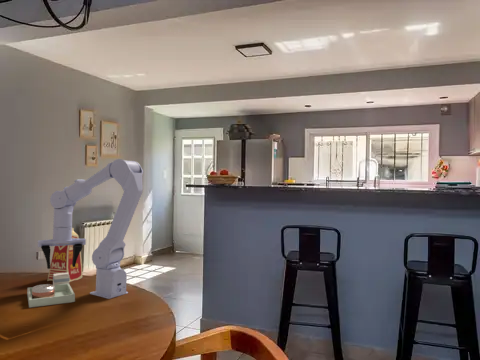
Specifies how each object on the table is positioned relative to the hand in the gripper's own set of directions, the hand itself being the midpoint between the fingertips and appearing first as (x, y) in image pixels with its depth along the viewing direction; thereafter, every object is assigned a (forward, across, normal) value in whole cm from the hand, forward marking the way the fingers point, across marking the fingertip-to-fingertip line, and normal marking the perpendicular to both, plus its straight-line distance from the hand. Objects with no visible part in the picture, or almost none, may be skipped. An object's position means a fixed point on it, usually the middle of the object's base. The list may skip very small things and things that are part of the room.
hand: (61, 267), depth 129 cm
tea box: (+7, 0, 0) cm, 7 cm away
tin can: (+7, +6, +12) cm, 15 cm away
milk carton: (+8, -3, -13) cm, 16 cm away
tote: (+7, +4, +10) cm, 13 cm away
